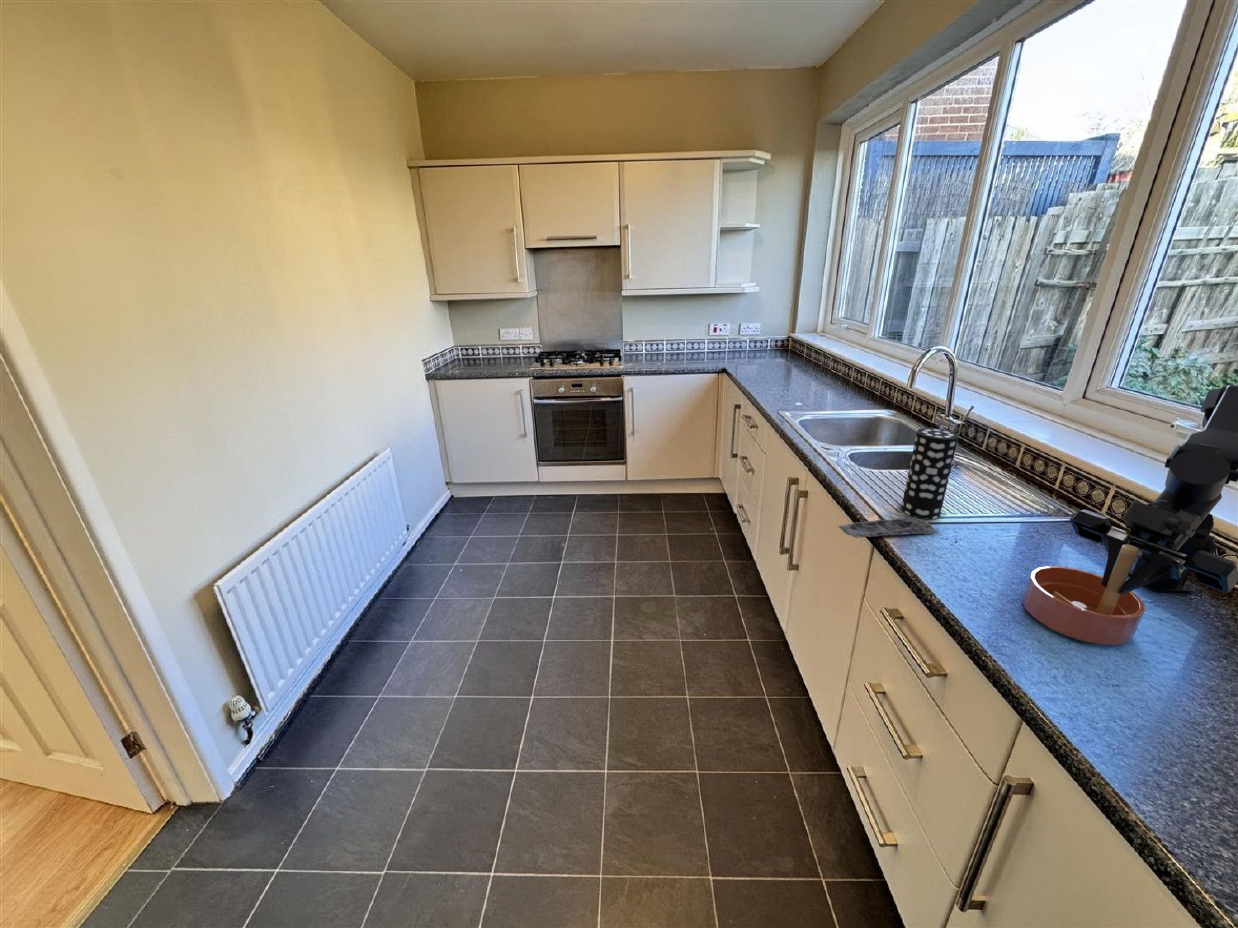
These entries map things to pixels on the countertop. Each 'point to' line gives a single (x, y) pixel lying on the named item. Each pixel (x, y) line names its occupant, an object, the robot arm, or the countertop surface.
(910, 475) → the spotted tube
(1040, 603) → the bowl
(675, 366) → the countertop surface
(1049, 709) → the countertop surface
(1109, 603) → the stirrer
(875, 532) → the driftwood
